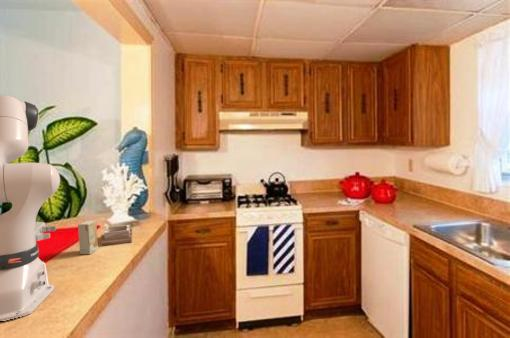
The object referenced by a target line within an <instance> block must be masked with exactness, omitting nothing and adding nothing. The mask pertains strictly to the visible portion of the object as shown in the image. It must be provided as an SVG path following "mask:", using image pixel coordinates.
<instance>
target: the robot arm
mask: <svg viewBox="0 0 510 338" xmlns="http://www.w3.org/2000/svg"><path fill="white" fill-rule="evenodd" d="M39 121H40V114H39V109H38V108H37V106H36V105H35V104H33V103H30V102H28V101H21V100H19V99H18V98H16V97H14V96H11V95H7V94H0V204H1V203H11V204H12V205H11V208H10V209H9V210H8V211H6V212H4V213H1V214H0V321H3V320H7V319H13V320H15V319H14V318H16V319H19V318H18V317H20V318H23V317H25V316H28V315H30V314H31V313H33V312H34V311H35V309H37V308H38V307H39V306H40V304H41V303H43V302H44V301H45V299H46V298H47V297H48V296H49V295H50V294H51V293H52V292H54V291H55V289H56V288H55V284H51V283H49V279H48V272H47V267H46V266H47V265H46V262H44V261H42V260H41V259H40V258H39V257H40V253H39V251H40V249H39V245H38V243H37V242H39V241H43V240H47V239H50V238H51V233H50V232H55V231H56V230H57V226H56V225H46V222H44V221H43V222H42V221H37V217H38V216H37V215H38V213H39V212H40V211H39V210H40V209H41V207H42V206H43V205H44V203H45V202H46V201H47V200H49V198H50V197H53V195H54V194H56V193H57V191H58V190H59V187H60V184H61V176H60V173H59V171H58V170H57V168H56V167H55V166H53V165H52V164H50V163H42V162H33V161H32V162H30V161H29V162H13V161H15V160H18V159H19V158H21V157H23V156H24V154H25V153H27V151H28V149H29V146H30V145H29V132H30V131H32V130H34V129H36V127H37V125H38V123H39ZM22 316H23V317H22Z"/></svg>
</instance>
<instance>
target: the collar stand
mask: <svg viewBox="0 0 510 338" xmlns="http://www.w3.org/2000/svg"><path fill="white" fill-rule="evenodd" d="M132 242H133V228H130V224H122V225H115V226H106V227H105V230H104V233H103V237H102V239H101V242H100V244H101V247H107V246H115V245H116V246H117V245H123V244H131V243H132Z"/></svg>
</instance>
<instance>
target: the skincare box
mask: <svg viewBox="0 0 510 338" xmlns="http://www.w3.org/2000/svg"><path fill="white" fill-rule="evenodd" d="M77 228H78V243H79V254H80V255H91V254H93V253H94V252H96V251H97V250H99V245H98V244H99V243H98V231H97V230H98V229H97V228H98V227H97V220H85V221H83V222H81V223H78V227H77Z"/></svg>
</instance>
